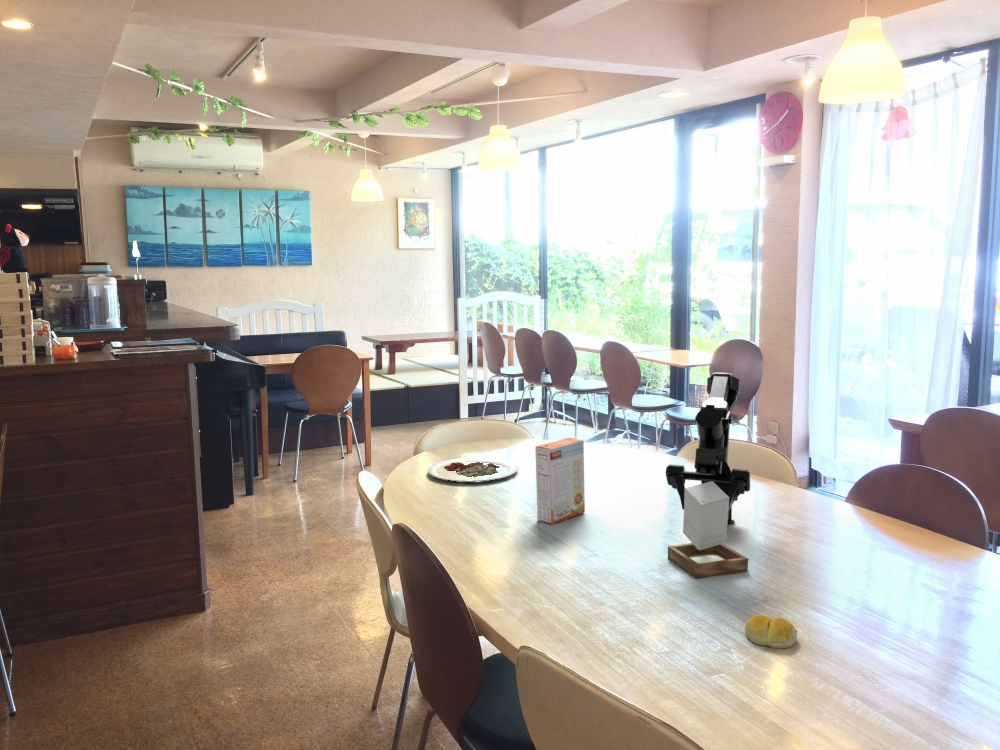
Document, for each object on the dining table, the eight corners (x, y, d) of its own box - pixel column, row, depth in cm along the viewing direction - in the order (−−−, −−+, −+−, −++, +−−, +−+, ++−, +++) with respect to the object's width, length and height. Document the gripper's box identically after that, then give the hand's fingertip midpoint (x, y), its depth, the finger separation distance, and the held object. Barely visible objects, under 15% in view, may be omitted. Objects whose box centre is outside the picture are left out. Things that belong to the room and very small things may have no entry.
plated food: (518, 485, 253) (518, 475, 252) (423, 487, 253) (423, 476, 253) (517, 461, 282) (517, 452, 282) (432, 463, 283) (432, 453, 282)
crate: (716, 551, 192) (716, 539, 191) (747, 571, 180) (748, 558, 179) (667, 558, 188) (667, 546, 188) (696, 578, 176) (696, 565, 176)
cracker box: (569, 508, 227) (568, 436, 224) (585, 513, 223) (585, 439, 220) (535, 520, 218) (534, 445, 215) (552, 525, 213) (551, 448, 210)
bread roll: (751, 624, 154) (751, 605, 154) (799, 635, 149) (800, 615, 149) (738, 642, 147) (739, 621, 147) (789, 654, 142) (789, 633, 142)
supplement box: (727, 543, 182) (730, 497, 176) (697, 551, 180) (700, 505, 174) (709, 524, 188) (713, 480, 182) (681, 532, 186) (683, 487, 180)
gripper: (667, 430, 187) (659, 490, 178) (750, 435, 180) (746, 497, 172) (671, 455, 195) (664, 513, 187) (752, 460, 189) (748, 520, 180)
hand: (704, 510), depth 181 cm, fingers closed on supplement box, 9 cm apart
